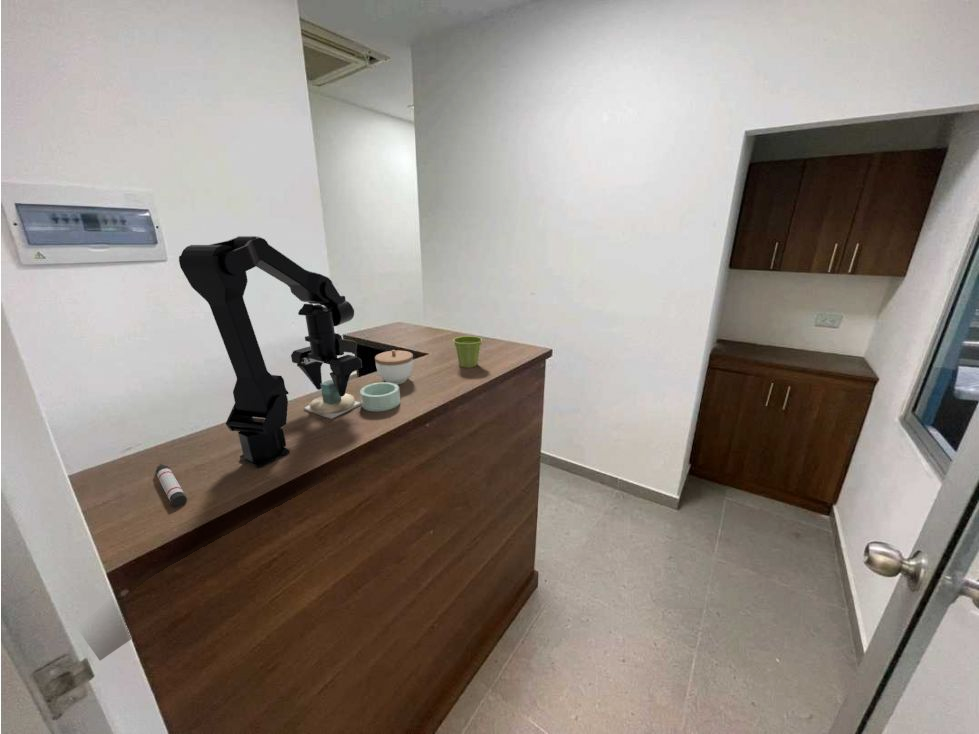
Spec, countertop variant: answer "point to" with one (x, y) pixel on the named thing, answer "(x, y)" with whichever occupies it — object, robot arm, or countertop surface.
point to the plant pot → (468, 350)
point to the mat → (335, 413)
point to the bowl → (380, 396)
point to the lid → (331, 400)
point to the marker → (171, 486)
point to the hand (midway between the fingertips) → (330, 392)
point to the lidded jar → (394, 366)
